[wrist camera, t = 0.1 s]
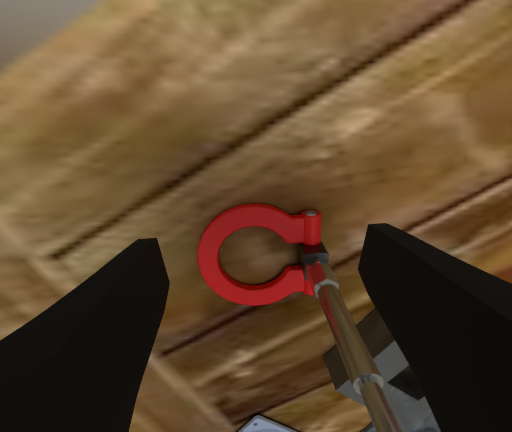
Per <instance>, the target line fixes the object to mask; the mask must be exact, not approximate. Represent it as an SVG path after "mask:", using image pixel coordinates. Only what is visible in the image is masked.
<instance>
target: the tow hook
mask: <svg viewBox="0 0 512 432" xmlns="http://www.w3.org/2000/svg"><path fill="white" fill-rule="evenodd" d="M251 226H258V227H265V228H268V229H270V230H273V231H275V232H276V233H277V234H279V235H280V236H281V237H282V238H283V239H284V240H285V242H287V243H300V265H295V266H288V267H286V268H285V270H284V272H283V273H282V274H281V275H280V276H279V277H278V278H276V279H275V280H273V281H271V282H269V283H266V284H263V285H255V286H253V285H245V284H242V283H239V282H237V281H235V280H233V279H232V278H230V277H229V276H228V275H227V274H226V273H225V272H224V270H223V268H222V266H221V264H220V260H219V249H220V246H221V244H222V242H223V241H224V240H225V239H226V237H227V236H229V235H230V234H231V233H233V232H234V231H236V230H238V229H241V228H244V227H251ZM328 255H329V254H328V252H327V250H326V249H325V247H324V245H323V243H322V242H321V212H319V211H316V210H306V211H303V212H302V213H301V215H289V214H287V213H286V212H285V211H283V210H280V209H278V208H275V207H273V206H270V205H264V204H256V203H253V204H245V205H238V206H236V207H233V208H231V209H228V210H225V211H224V212H223V213H221V214H220V215H218V216H217V217H216V218H214V219H213V220H212V222H211V223H210V224H209V225H208V227H207V228H206V229H205V231H204V233H203V236H202V238H201V241H200V243H199V246H198V258H197V260H198V265H199V269H200V273H201V274H202V276H203V278H204V280H205V282H206V283H207V284H208V285H209V286H210V287H211V289H212V290H213V291H214V292H215V293H217V294H218V295H220V296H222V297H223V298H225V299H227V300H229V301H232V302H235V303H238V304H242V305H252V306H256V305H265V304H270V303H273V302H276V301H279V300H281V299H283V298H284V297H286V296H288V295H289V294H291V293H292V292H299V291H303V292H304V293H305V294H307V295H314V296H315V297H316V298H317V299H319V300H320V302H321V305H322V308H323V310H324V313H325V316H326V318H327V321H328V324H329V326H330V329H331V332H332V334H333V337H334V340H335V342H336V345H337V347H338V350H339V353H340V355H341V358H342V361H343V363H344V366H345V369H346V371H347V374H348V377H349V379H350V382H351V385H352V387H353V389H354V391H355V392H356V393H358V394H360V395H362V398H363V400H364V403H365V405H366V408H367V410H368V413H369V415H370V418H371V420H372V423H373V425H374V428H375V430H376V432H402V430H401V428H400V426H399V423H398V421H397V419H396V417H395V415H394V413H393V411H392V409H391V407H390V405H389V403H388V401H387V399H386V397H385V395H384V393H383V390H382V388H383V385H384V380H383V378H382V376H381V374H380V372H379V370H378V368H377V366H376V364H375V362H374V360H373V358H372V356H371V354H370V352H369V350H368V348H367V346H366V344H365V342H364V340H363V339H362V337H361V335H360V333H359V331H358V329H357V327H356V325H355V323H354V321H353V319H352V317H351V315H350V313H349V311H348V309H347V307H346V305H345V303H344V301H343V299H342V297H341V295H340V293H339V282H338V280H337V279H336V277H335V275H334V273H333V271H332V269H331V268H330V266H329V264H328Z"/></svg>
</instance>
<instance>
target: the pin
mask: <svg viewBox="0 0 512 432" xmlns="http://www.w3.org/2000/svg"><path fill="white" fill-rule="evenodd" d="M417 432H437V430H436V429H434V428H430V427H428V428H423V429H420V430H419V431H417Z"/></svg>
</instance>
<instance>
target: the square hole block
mask: <svg viewBox="0 0 512 432" xmlns="http://www.w3.org/2000/svg"><path fill="white" fill-rule="evenodd" d="M356 327H357V329H358V331H359V333H360V335H361V337H362V339H363V340H364V342H365V344H366V346H367V348H368V350H369V352H370V354H371V356H372V358H373V360H374V362H375V364H376V366H377V368H378V370H379V372H380V374H381V376H382V378H383V380H384V385H383V388H382V390H383V393H384V395H385V397H386V399H387V401H388V403H389V405H390V407H391V409H392V411H393V413H394V415H395V417H396V419H397V421H398V423H399V424H401V425H403V426H405V427H407V428H409V429H411V430H413V431H414V430H416V429H417V428H418V427H420V426H421V425H423V424H424V423H426V422H427V421H428V420H430V419H431V418H433V417H434V415H433V413H432V411H431V409H430V407H429V405H428V402H427V400H426V398H425V396H424V394H423V392H422V390H421V388H420V386H419V383H418V381H417V379H416V377H415V375H414V373H413V371H412V369H411V368H410V366H409V364H408V362H407V360H406V358H405V357H404V355H403V353H402V351H401V350H400V348H399V346H398V345H397V343H396V341H395V340H394V338H393V336H392V334H391V333H390V331H389V329H388V328H387V326H386V324H385V323H384V321H383V319H382V318H381V316H380V314H379V312H378V311H377V309H376V308H375V309H374V310H373V311H372V312H371V313H370V314H369V315H368V316H367V317H365V318H364V319H363V320H362V321H361V322H360V323H359V324H358V325H357V326H356ZM324 359H325V362H326V364H327V367H328V370H329V373H330V376H331V378H332V381H333V384H334V387H335V390H336V391H338V392H340V393H341V394H343V395H345V396H347V397H349V398H351V399H353V400H355V401H357V402H359V403H361V404H363V405H365V403H364V400H363V398H362V395H360V394H358V393H356V392H355V391H354V389H353V387H352V385H351V382H350V379H349V377H348V374H347V371H346V369H345V366H344V363H343V361H342V358H341V355H340V353H339V350H338V347H337V345H335V346H334V347H333V348H332V349H330V350H329V351H328V352H327V353H326V354H325V355H324ZM365 406H366V405H365Z"/></svg>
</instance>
